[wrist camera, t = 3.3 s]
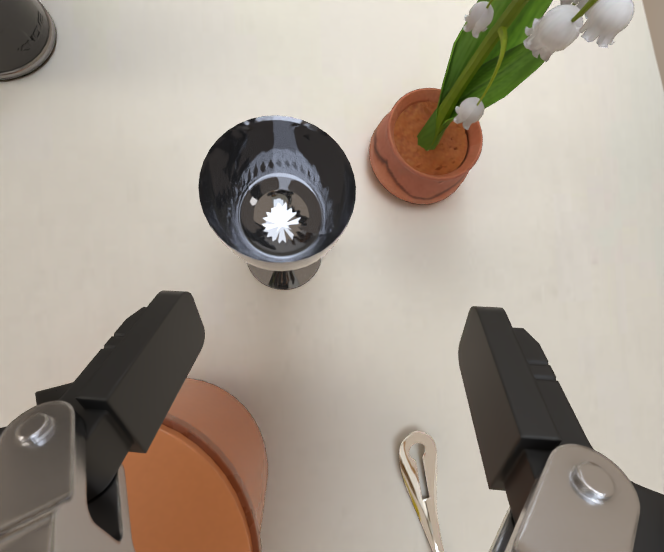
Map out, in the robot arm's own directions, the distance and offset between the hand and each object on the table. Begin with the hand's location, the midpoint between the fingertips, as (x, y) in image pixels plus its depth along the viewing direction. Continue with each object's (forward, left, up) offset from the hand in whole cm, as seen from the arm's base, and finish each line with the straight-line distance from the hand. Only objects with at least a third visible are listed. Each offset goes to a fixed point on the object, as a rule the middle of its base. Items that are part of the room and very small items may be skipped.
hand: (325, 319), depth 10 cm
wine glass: (-3, +6, -22) cm, 23 cm away
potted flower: (+7, +18, -22) cm, 29 cm away
